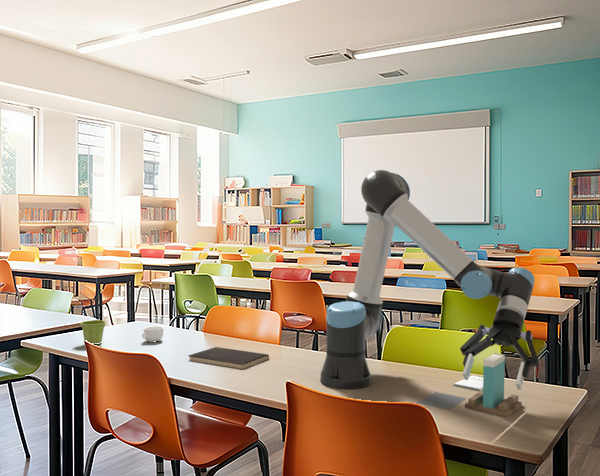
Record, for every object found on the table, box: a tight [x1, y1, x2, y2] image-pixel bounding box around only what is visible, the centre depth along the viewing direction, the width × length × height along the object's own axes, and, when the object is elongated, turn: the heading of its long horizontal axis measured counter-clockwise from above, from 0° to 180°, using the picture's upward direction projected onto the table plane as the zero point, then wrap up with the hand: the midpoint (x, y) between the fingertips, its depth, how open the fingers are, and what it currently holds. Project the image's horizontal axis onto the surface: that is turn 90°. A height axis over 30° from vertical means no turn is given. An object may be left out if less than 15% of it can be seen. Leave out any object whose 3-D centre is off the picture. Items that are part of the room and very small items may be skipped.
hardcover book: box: [187, 346, 270, 370], centre depth 193 cm, size 16×23×2 cm
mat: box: [416, 391, 468, 410], centre depth 148 cm, size 12×9×1 cm
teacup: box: [141, 325, 164, 343], centre depth 221 cm, size 10×8×5 cm
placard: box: [482, 353, 506, 409], centre depth 143 cm, size 9×2×12 cm, turn 143°
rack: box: [464, 390, 523, 417], centre depth 144 cm, size 11×11×3 cm
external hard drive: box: [453, 375, 483, 392], centre depth 164 cm, size 2×8×12 cm
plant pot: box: [80, 319, 107, 344], centre depth 216 cm, size 9×9×9 cm
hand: (490, 381), depth 142 cm, fingers open, 13 cm apart
